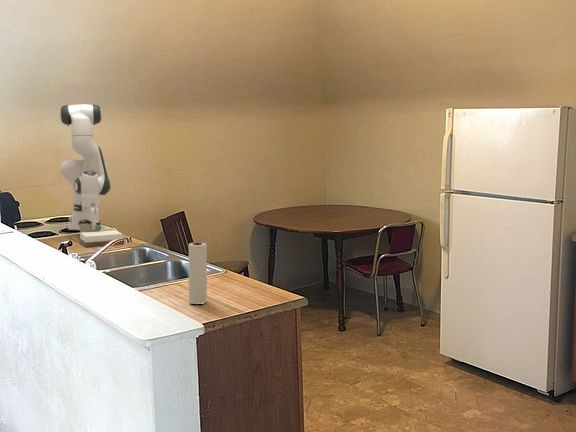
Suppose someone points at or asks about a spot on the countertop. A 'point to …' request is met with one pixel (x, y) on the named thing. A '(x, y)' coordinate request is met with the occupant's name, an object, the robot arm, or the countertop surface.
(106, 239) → the tower top
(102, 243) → the tower bottom
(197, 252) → the paper towel roll
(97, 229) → the food container
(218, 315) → the countertop surface
